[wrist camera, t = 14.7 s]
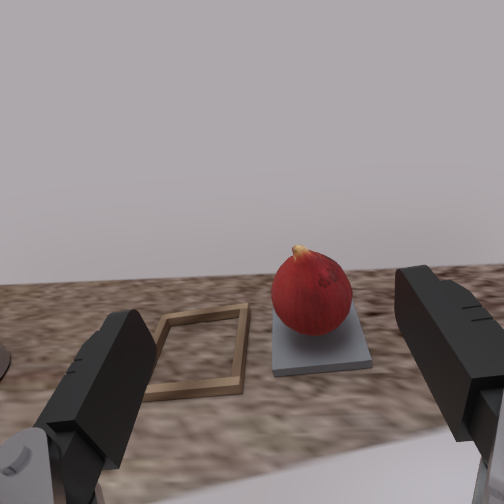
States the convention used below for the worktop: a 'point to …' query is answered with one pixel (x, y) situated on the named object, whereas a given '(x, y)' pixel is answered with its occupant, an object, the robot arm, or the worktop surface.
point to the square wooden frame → (209, 385)
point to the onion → (311, 293)
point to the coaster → (319, 348)
